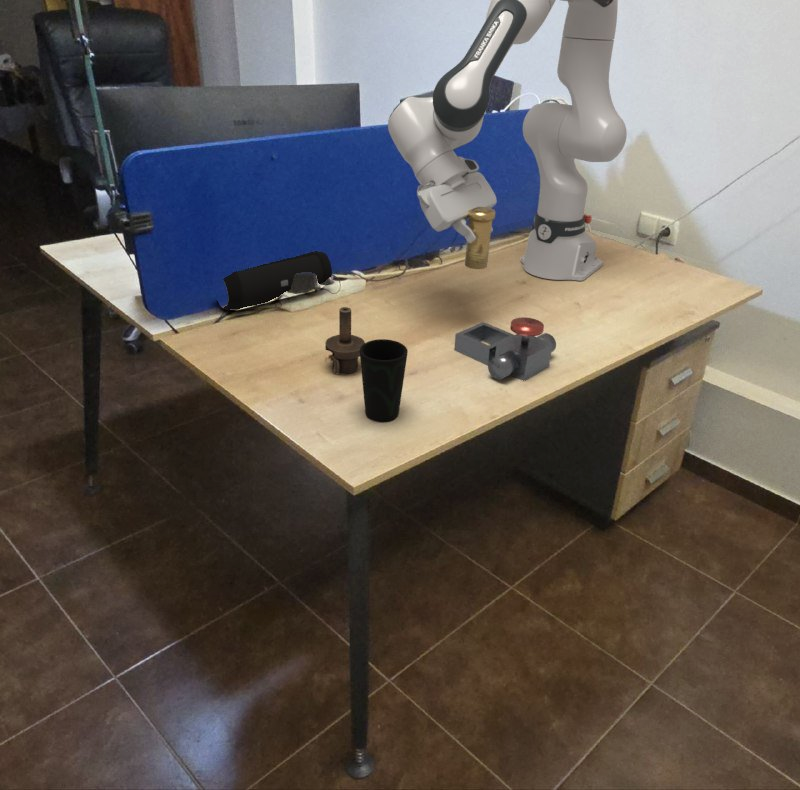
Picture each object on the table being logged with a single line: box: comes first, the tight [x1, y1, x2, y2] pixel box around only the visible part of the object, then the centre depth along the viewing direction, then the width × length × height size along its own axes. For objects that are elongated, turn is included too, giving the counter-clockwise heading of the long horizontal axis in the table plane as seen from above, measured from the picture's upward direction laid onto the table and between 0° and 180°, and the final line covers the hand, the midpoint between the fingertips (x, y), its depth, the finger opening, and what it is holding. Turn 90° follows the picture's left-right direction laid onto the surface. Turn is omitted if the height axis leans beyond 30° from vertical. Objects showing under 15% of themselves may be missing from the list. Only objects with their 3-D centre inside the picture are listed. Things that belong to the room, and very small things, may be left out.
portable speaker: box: [223, 251, 333, 311], centre depth 155 cm, size 26×10×10 cm, turn 128°
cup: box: [359, 338, 409, 423], centre depth 115 cm, size 8×8×12 cm
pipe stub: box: [464, 207, 496, 270], centre depth 138 cm, size 5×5×11 cm
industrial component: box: [324, 306, 366, 375], centre depth 128 cm, size 9×7×12 cm
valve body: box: [453, 316, 557, 382], centre depth 134 cm, size 16×17×9 cm
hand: (481, 237), depth 138 cm, fingers closed on pipe stub, 4 cm apart
